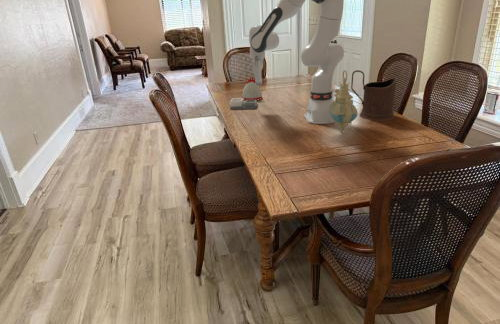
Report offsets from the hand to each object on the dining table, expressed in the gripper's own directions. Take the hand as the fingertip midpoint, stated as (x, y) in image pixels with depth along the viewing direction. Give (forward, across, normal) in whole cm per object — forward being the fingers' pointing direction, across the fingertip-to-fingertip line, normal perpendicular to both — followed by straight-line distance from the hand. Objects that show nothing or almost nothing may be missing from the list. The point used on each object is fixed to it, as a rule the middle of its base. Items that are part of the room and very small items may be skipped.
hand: (258, 79), depth 208 cm
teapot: (+20, -44, -46) cm, 66 cm away
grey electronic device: (+19, +6, +11) cm, 23 cm away
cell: (+3, 0, 0) cm, 3 cm away
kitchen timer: (+19, +29, +9) cm, 36 cm away
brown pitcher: (+19, -15, -65) cm, 69 cm away
